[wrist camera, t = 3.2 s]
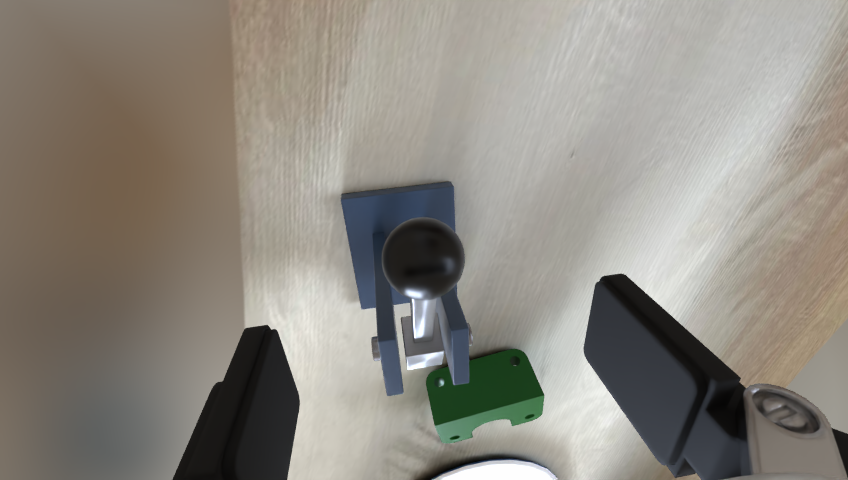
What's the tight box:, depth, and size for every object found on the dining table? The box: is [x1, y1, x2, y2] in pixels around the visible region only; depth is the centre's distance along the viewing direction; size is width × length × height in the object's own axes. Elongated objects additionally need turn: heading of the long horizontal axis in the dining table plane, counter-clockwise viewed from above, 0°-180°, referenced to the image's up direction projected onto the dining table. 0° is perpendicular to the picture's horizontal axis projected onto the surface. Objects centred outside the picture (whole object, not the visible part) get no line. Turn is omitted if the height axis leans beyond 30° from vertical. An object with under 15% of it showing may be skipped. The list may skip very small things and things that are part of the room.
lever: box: [382, 217, 465, 370], centre depth 19 cm, size 13×3×3 cm, turn 4°
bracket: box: [341, 182, 473, 396], centre depth 27 cm, size 11×9×14 cm
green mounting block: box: [426, 349, 544, 443], centre depth 41 cm, size 12×6×9 cm, turn 96°
